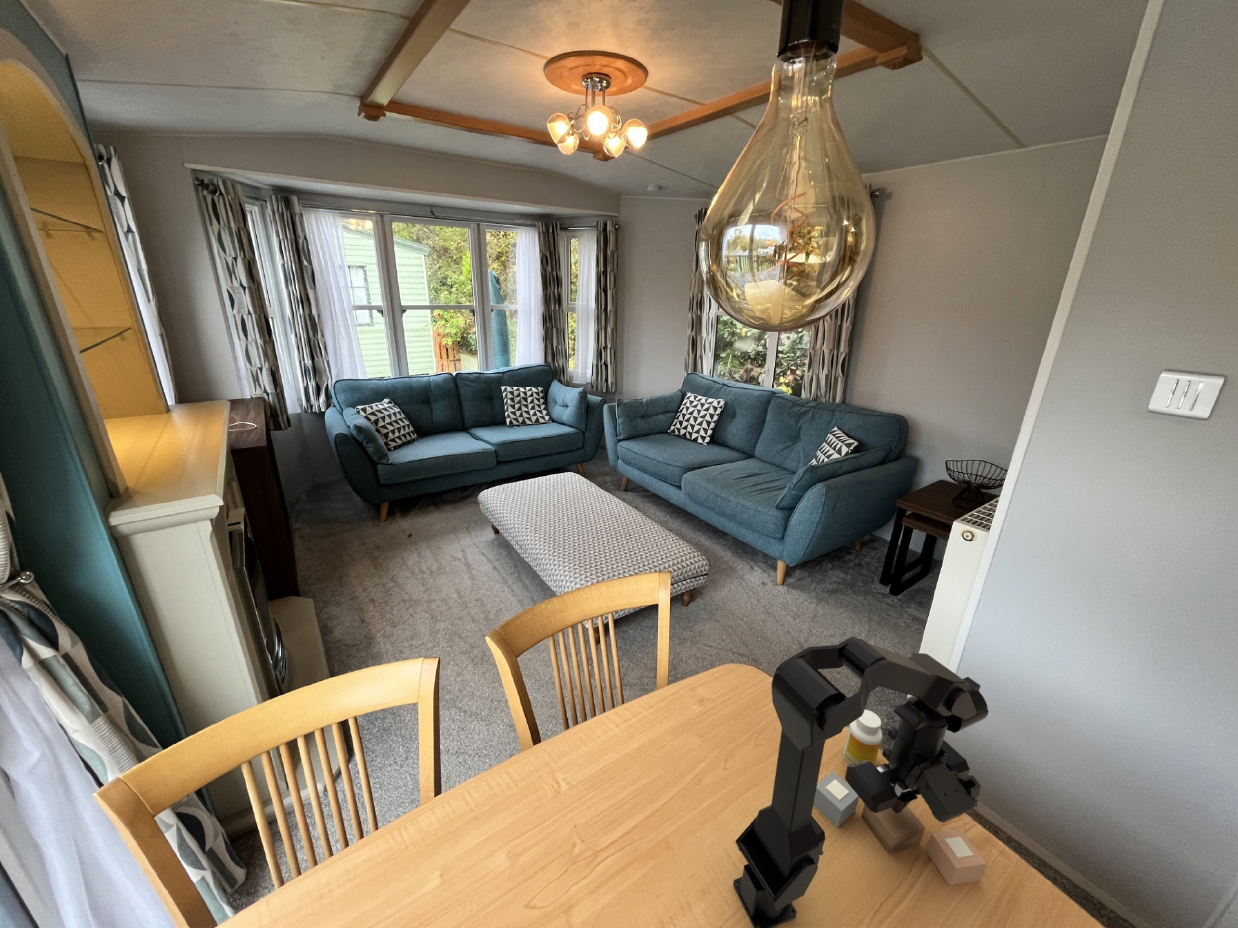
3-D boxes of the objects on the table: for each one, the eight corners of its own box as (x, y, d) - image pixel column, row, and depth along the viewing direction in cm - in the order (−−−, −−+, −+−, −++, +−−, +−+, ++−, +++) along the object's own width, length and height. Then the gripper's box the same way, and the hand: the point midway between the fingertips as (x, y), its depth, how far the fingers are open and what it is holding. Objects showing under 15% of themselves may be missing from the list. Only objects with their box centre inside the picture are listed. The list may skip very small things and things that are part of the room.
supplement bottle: (878, 774, 91) (889, 733, 87) (846, 768, 92) (856, 727, 88) (870, 748, 96) (881, 708, 92) (840, 743, 97) (849, 703, 93)
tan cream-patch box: (949, 886, 74) (956, 867, 73) (925, 850, 79) (931, 831, 77) (979, 881, 75) (987, 862, 73) (954, 845, 80) (960, 827, 78)
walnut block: (888, 855, 78) (893, 837, 77) (860, 817, 83) (865, 800, 82) (919, 844, 80) (925, 827, 78) (890, 808, 85) (895, 791, 84)
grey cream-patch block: (837, 828, 82) (841, 809, 80) (810, 802, 85) (814, 784, 84) (855, 811, 84) (860, 793, 83) (828, 787, 88) (833, 769, 87)
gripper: (916, 806, 64) (890, 885, 70) (1019, 765, 70) (987, 841, 76) (852, 735, 74) (833, 809, 80) (946, 704, 80) (923, 776, 85)
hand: (895, 810), depth 80 cm, fingers closed
